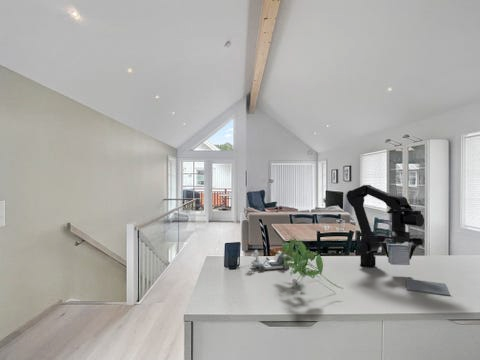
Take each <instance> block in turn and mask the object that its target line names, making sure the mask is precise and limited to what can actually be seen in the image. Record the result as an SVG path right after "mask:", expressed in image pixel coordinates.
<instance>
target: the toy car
mask: <svg viewBox="0 0 480 360" xmlns="http://www.w3.org/2000/svg"><path fill="white" fill-rule="evenodd" d="M251 252H252V253H251V255H250V256H251V257H253V258H255V259H254V260H252V261H251V264H252V265H253V267H255V268H257V267H258V271H259V272H265V270H277V269H283V270H284V271H286V270H289V269H290V266H287V265H286V263H285V262H286V261H283V260H284V258H285V257H286V256H288V254H286V255H285V254H284V255H282V256H280V255H281V253H282V252H283V251H280V250H278V251H277V253H276V254H275V255H274V258H273V259H269V258H268V256H267V257H265V259H266V260H265V261H260V260H258V258H259V251H258V249H255V250H254V251H253V250H251ZM285 265H286V266H285Z"/></svg>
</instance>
